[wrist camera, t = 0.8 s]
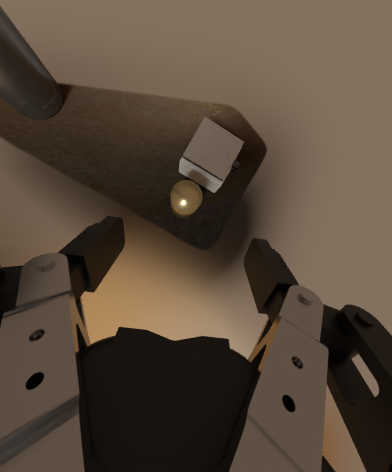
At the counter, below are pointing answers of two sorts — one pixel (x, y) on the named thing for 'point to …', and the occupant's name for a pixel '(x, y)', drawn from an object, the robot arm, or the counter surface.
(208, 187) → the white latched box
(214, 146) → the box lid
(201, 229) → the counter surface
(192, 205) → the disc
